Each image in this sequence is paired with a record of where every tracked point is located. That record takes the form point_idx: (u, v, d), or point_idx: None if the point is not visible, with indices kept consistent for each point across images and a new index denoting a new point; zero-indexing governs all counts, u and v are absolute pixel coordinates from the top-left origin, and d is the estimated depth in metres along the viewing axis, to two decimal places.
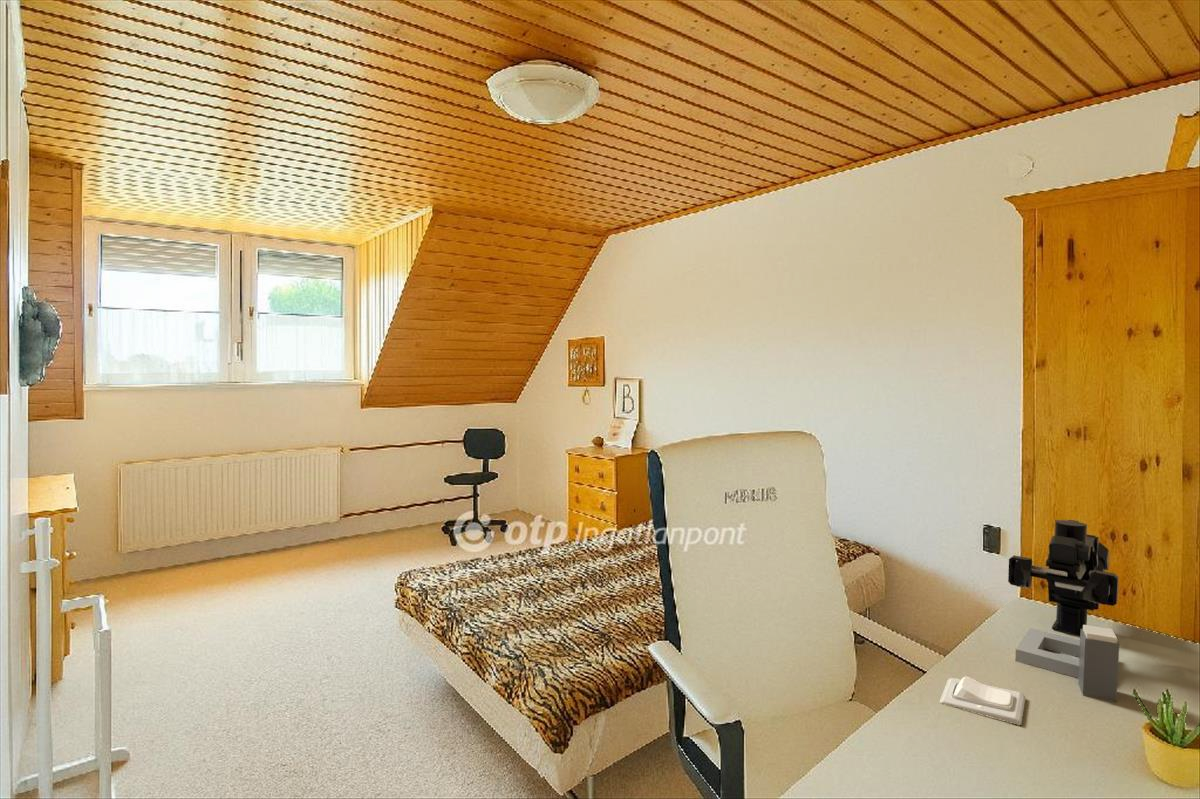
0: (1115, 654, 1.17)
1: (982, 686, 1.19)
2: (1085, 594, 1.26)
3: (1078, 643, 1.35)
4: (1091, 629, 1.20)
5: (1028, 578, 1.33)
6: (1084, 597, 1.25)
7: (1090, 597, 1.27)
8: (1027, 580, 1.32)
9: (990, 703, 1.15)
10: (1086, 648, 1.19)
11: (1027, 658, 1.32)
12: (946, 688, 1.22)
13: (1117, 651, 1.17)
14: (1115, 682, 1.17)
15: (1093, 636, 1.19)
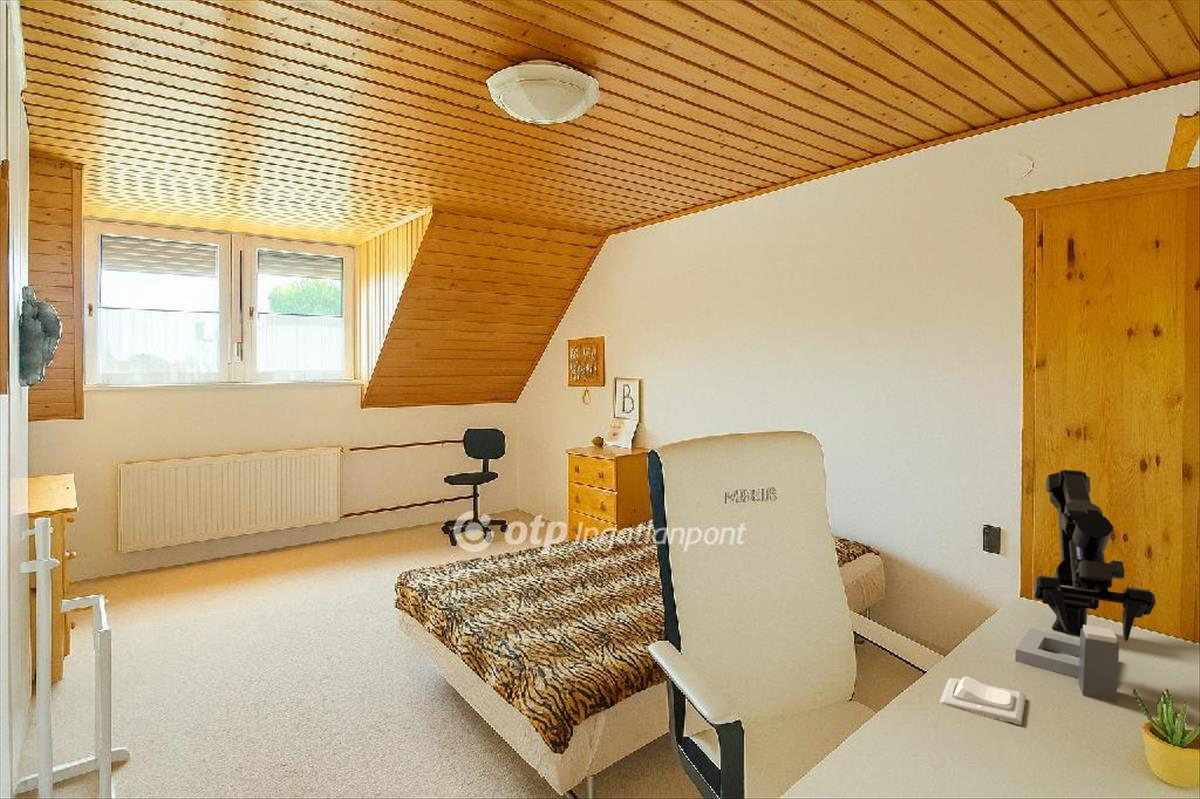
0: (1115, 654, 1.17)
1: (982, 686, 1.20)
2: None
3: (1078, 643, 1.35)
4: (1091, 629, 1.20)
5: (1066, 620, 1.25)
6: (1128, 638, 1.21)
7: None
8: (1066, 625, 1.25)
9: (990, 703, 1.15)
10: (1086, 648, 1.19)
11: (1027, 658, 1.32)
12: (946, 688, 1.22)
13: (1117, 651, 1.17)
14: (1115, 682, 1.17)
15: (1093, 636, 1.19)
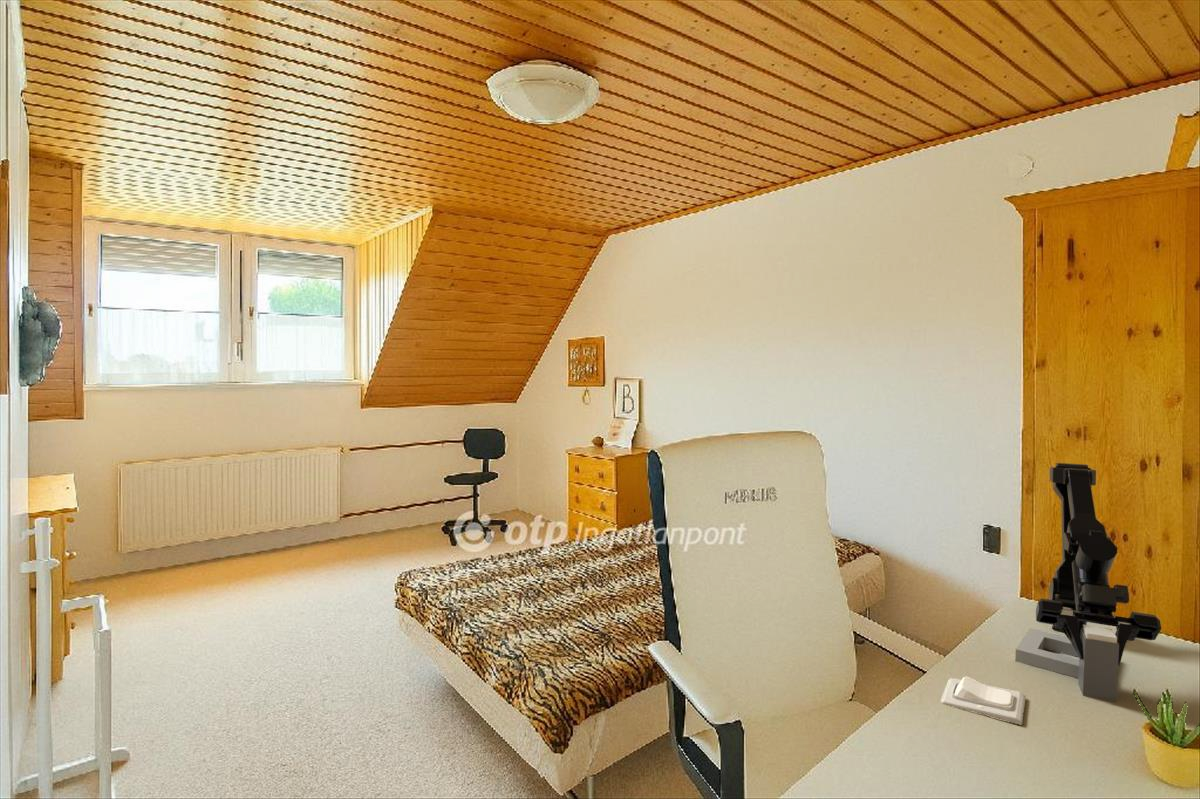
0: (1115, 654, 1.17)
1: (982, 686, 1.20)
2: (1120, 660, 1.18)
3: None
4: (1091, 629, 1.20)
5: (1081, 648, 1.21)
6: (1119, 663, 1.18)
7: None
8: (1082, 653, 1.20)
9: (990, 703, 1.15)
10: (1086, 648, 1.19)
11: (1027, 658, 1.32)
12: (946, 688, 1.22)
13: (1117, 651, 1.17)
14: (1115, 682, 1.17)
15: (1093, 636, 1.19)
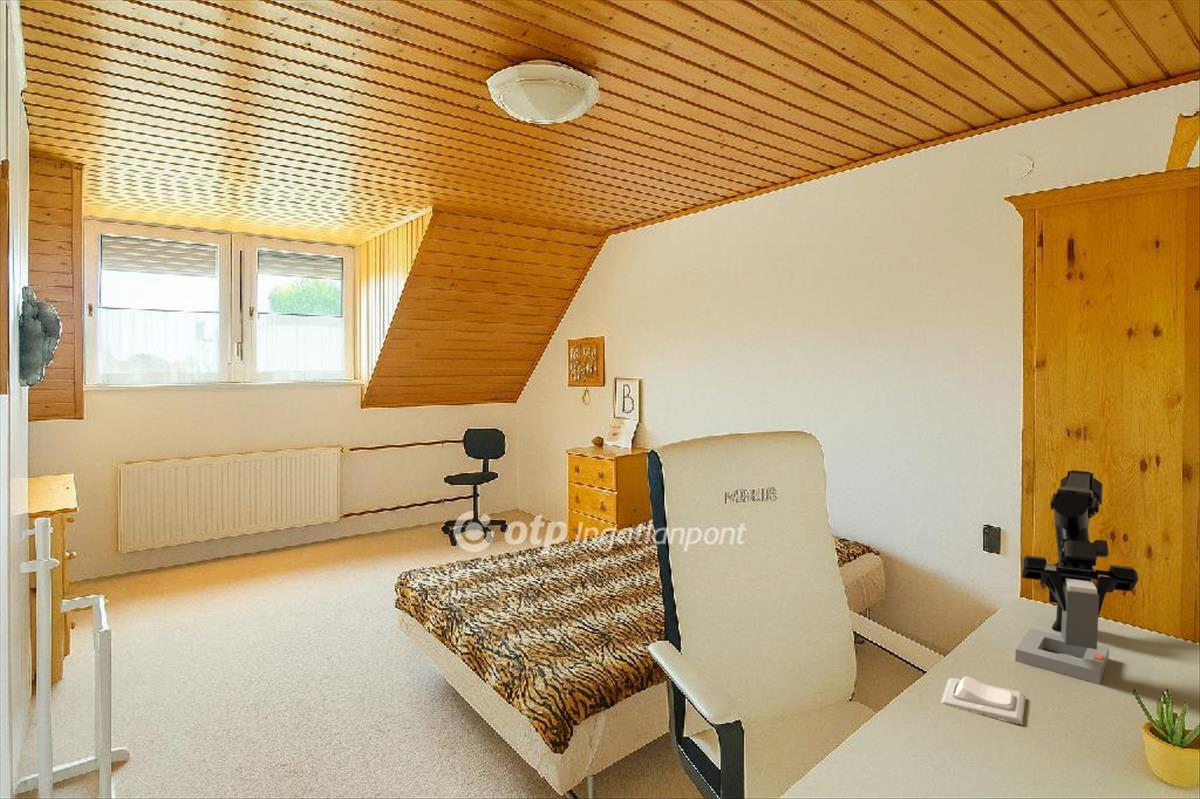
0: (1095, 604, 1.24)
1: (982, 686, 1.20)
2: (1100, 610, 1.25)
3: None
4: (1073, 582, 1.27)
5: (1064, 600, 1.28)
6: None
7: None
8: (1064, 605, 1.27)
9: (991, 703, 1.15)
10: (1068, 600, 1.26)
11: (1027, 658, 1.32)
12: (946, 688, 1.22)
13: (1097, 602, 1.24)
14: (1095, 631, 1.24)
15: (1075, 588, 1.25)
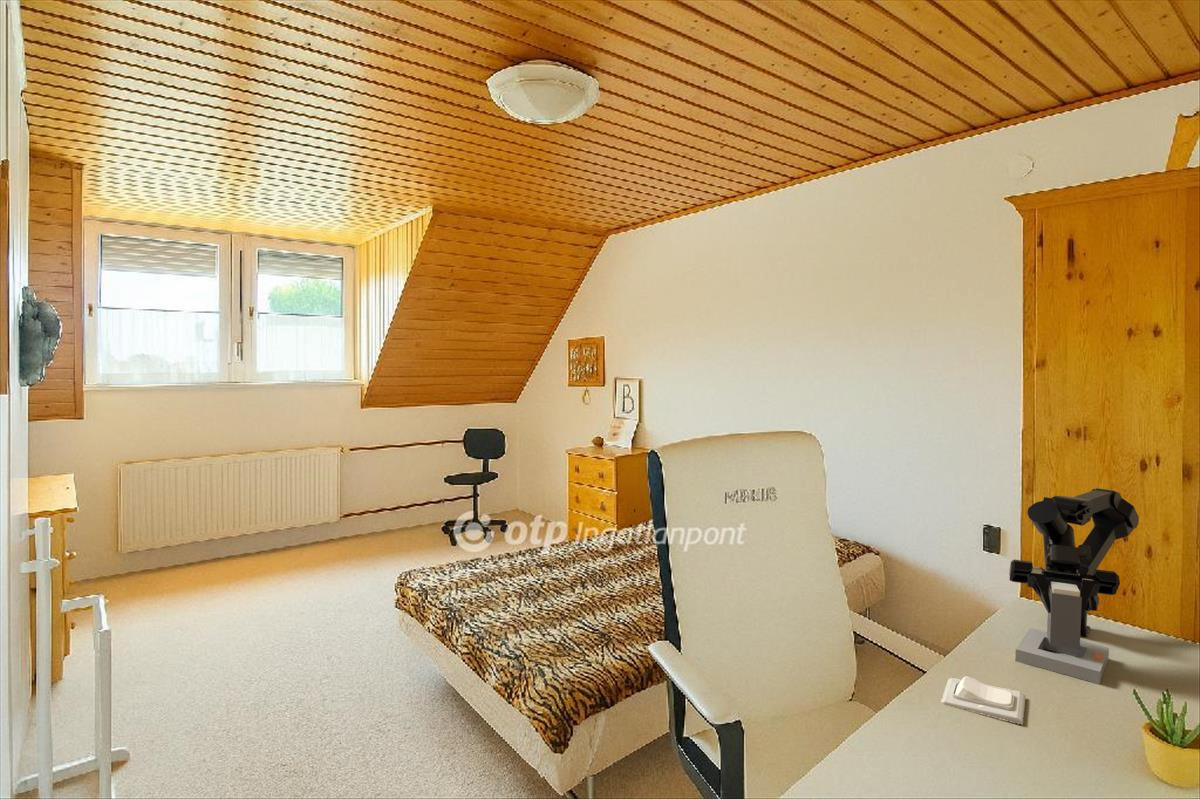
0: (1078, 606, 1.29)
1: (983, 686, 1.20)
2: (1083, 612, 1.30)
3: None
4: (1057, 585, 1.33)
5: (1049, 602, 1.33)
6: (1082, 615, 1.31)
7: None
8: (1049, 607, 1.33)
9: (991, 703, 1.15)
10: (1052, 602, 1.31)
11: (1027, 658, 1.32)
12: (947, 688, 1.22)
13: (1080, 603, 1.29)
14: (1078, 632, 1.30)
15: (1059, 591, 1.31)
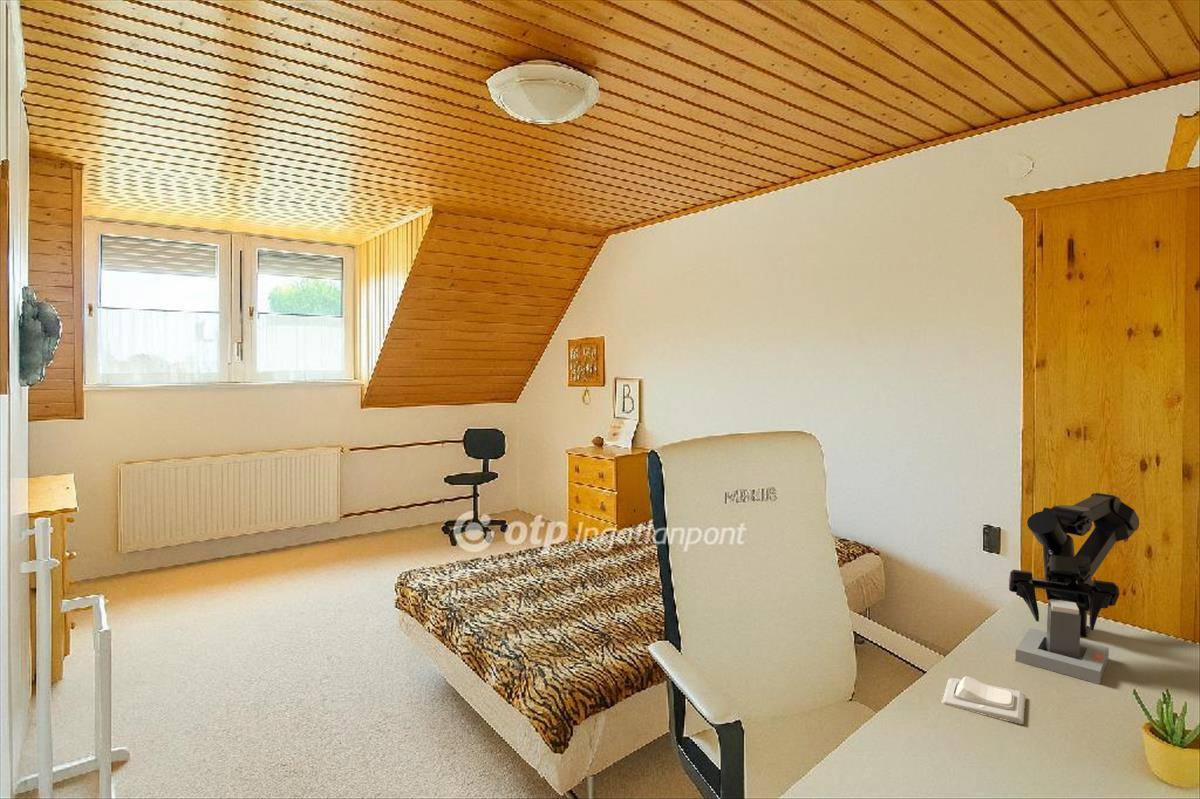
0: (1077, 624, 1.30)
1: (983, 686, 1.20)
2: (1094, 625, 1.30)
3: None
4: (1056, 603, 1.33)
5: (1037, 611, 1.34)
6: (1093, 628, 1.30)
7: None
8: (1037, 616, 1.34)
9: (991, 702, 1.15)
10: (1052, 619, 1.32)
11: (1027, 658, 1.32)
12: (947, 688, 1.22)
13: (1079, 622, 1.29)
14: (1077, 650, 1.30)
15: (1058, 608, 1.31)
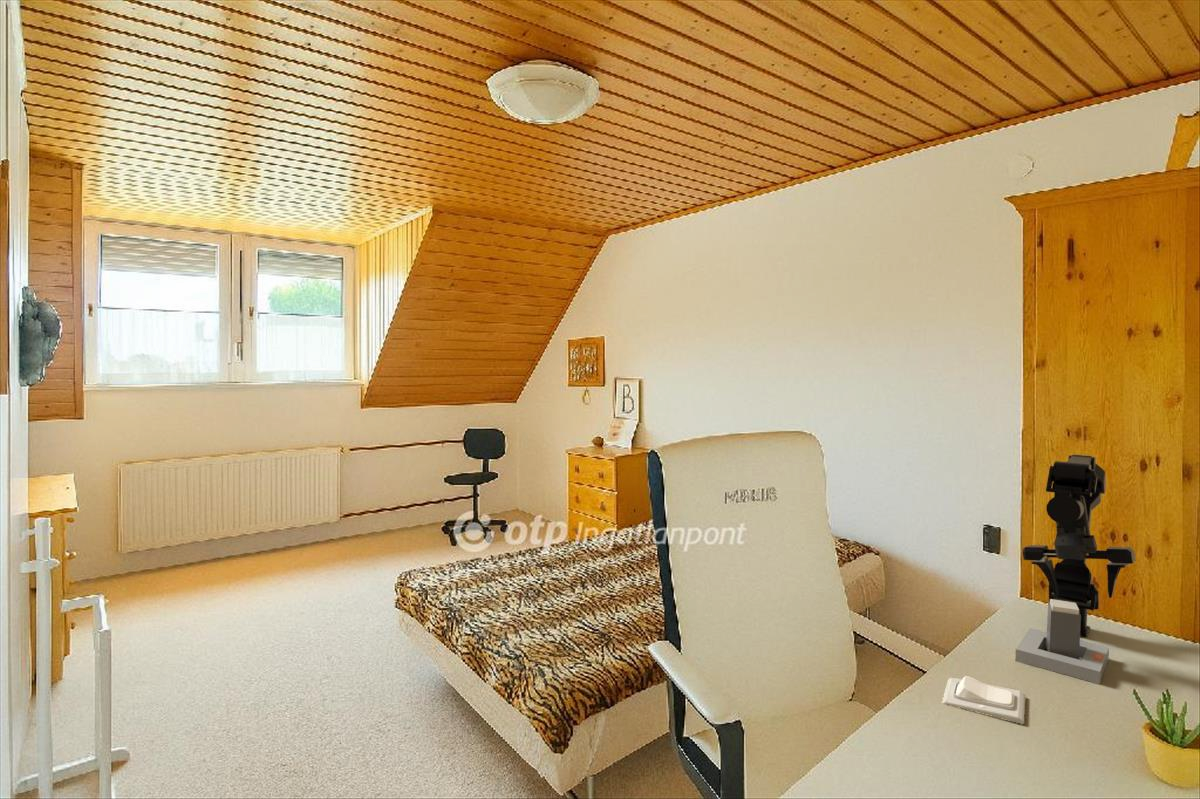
0: (1077, 624, 1.30)
1: (983, 685, 1.20)
2: (1112, 593, 1.30)
3: None
4: (1056, 603, 1.33)
5: (1054, 586, 1.37)
6: (1112, 594, 1.31)
7: (1115, 583, 1.31)
8: (1055, 591, 1.37)
9: (992, 702, 1.15)
10: (1052, 619, 1.32)
11: (1027, 658, 1.32)
12: (947, 688, 1.22)
13: (1079, 622, 1.29)
14: (1077, 650, 1.30)
15: (1058, 608, 1.31)
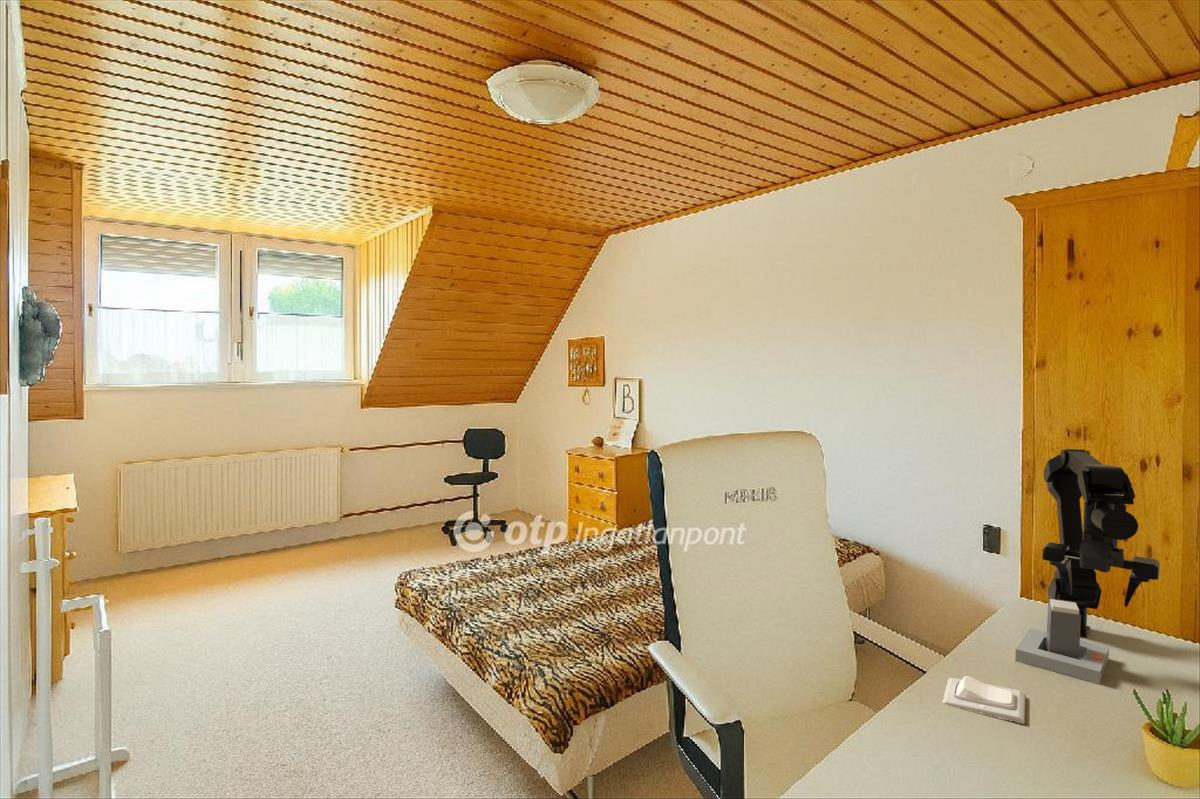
0: (1077, 624, 1.30)
1: (983, 685, 1.20)
2: None
3: None
4: (1056, 603, 1.33)
5: (1069, 587, 1.34)
6: (1128, 603, 1.29)
7: None
8: (1069, 592, 1.35)
9: (992, 702, 1.15)
10: (1052, 619, 1.32)
11: (1027, 658, 1.32)
12: (947, 688, 1.22)
13: (1079, 622, 1.29)
14: (1077, 650, 1.30)
15: (1058, 608, 1.31)
